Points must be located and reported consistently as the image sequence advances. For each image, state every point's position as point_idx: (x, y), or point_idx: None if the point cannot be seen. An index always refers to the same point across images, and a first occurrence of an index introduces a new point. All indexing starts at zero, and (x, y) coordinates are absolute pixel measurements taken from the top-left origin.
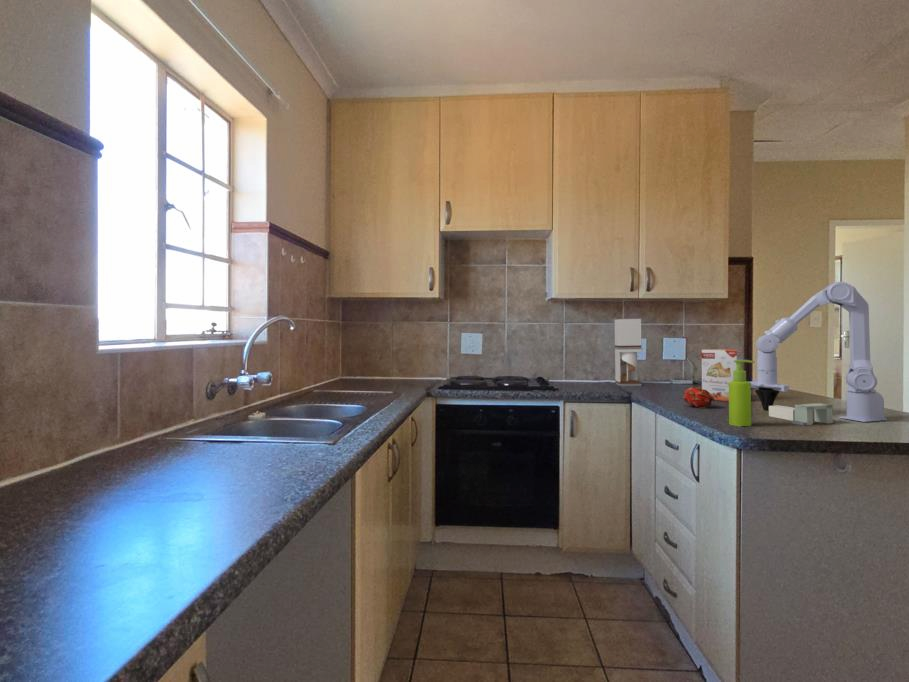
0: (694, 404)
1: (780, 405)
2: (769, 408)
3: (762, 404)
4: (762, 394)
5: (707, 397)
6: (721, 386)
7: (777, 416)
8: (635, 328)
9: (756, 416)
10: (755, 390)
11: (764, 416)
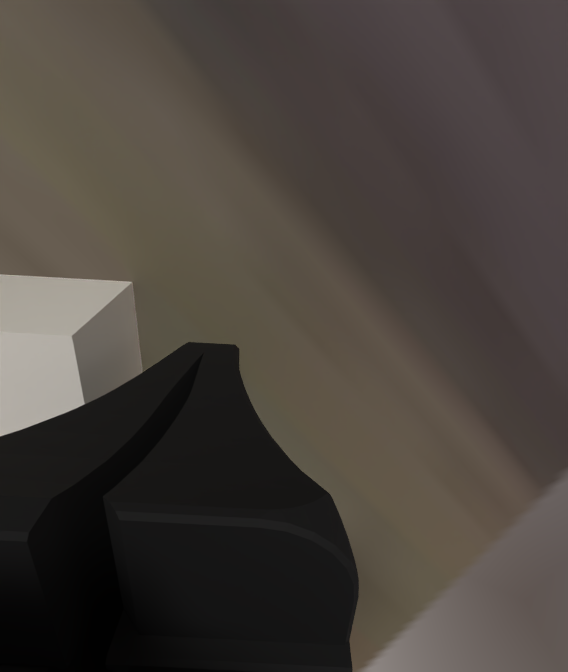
0: None
1: None
2: (76, 317)
3: (221, 369)
4: (110, 459)
5: None
6: None
7: (5, 280)
8: None
9: (155, 116)
10: (320, 525)
11: (127, 216)
